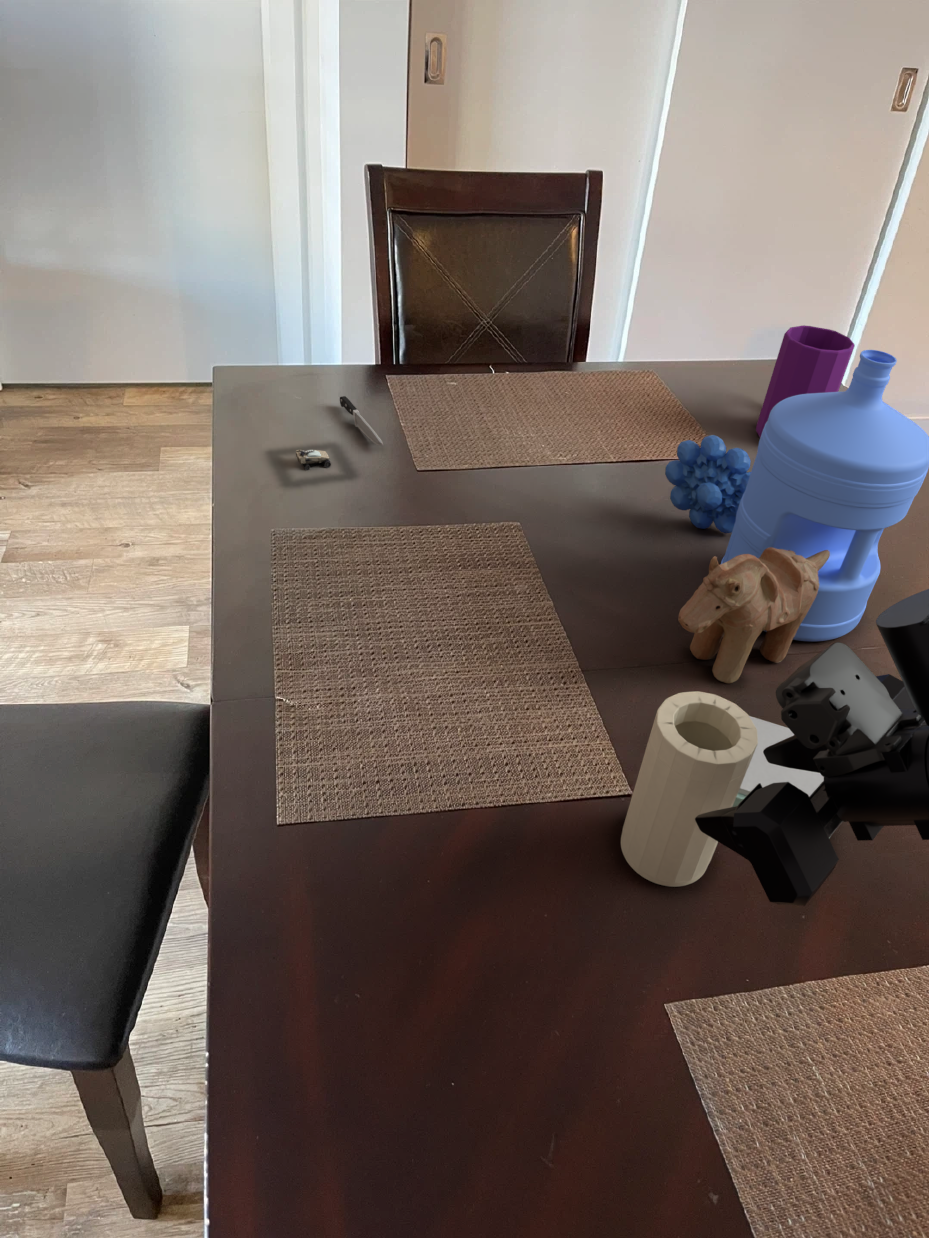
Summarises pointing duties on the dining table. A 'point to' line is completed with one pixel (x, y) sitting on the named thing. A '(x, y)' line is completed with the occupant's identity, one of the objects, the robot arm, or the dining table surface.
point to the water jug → (833, 489)
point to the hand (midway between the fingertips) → (733, 788)
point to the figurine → (750, 607)
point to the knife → (360, 421)
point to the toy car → (313, 458)
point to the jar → (685, 785)
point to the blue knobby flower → (709, 482)
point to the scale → (770, 772)
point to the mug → (806, 366)
